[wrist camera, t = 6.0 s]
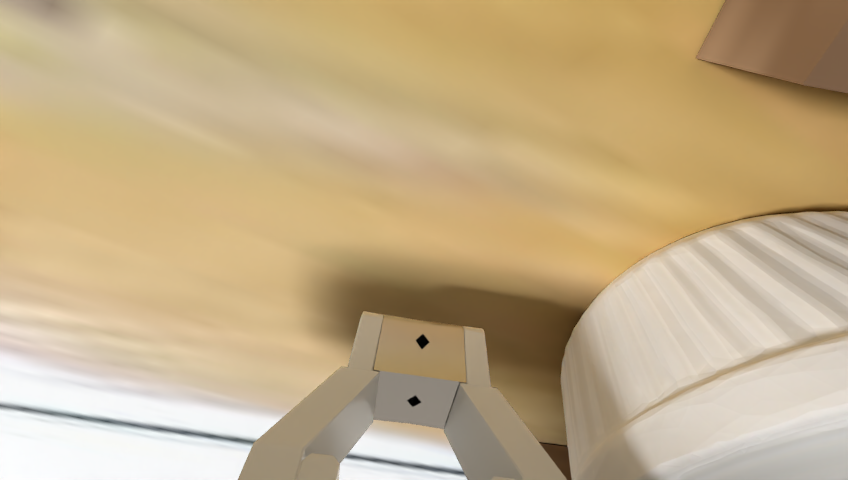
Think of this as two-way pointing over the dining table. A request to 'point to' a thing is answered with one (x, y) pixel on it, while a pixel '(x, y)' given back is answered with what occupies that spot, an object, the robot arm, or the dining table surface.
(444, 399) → the robot arm
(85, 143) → the dining table surface
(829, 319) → the ramekin
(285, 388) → the dining table surface
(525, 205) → the dining table surface
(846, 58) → the runway rails
